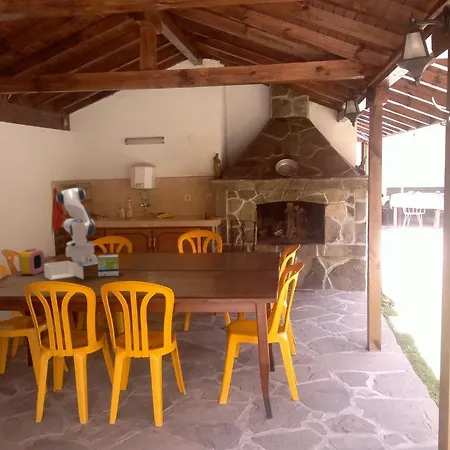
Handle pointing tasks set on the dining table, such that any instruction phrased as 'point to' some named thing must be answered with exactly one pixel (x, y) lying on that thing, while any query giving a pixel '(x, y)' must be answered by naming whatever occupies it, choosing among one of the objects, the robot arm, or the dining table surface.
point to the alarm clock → (31, 261)
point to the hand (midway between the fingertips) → (80, 261)
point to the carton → (59, 270)
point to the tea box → (108, 265)
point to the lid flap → (78, 270)
